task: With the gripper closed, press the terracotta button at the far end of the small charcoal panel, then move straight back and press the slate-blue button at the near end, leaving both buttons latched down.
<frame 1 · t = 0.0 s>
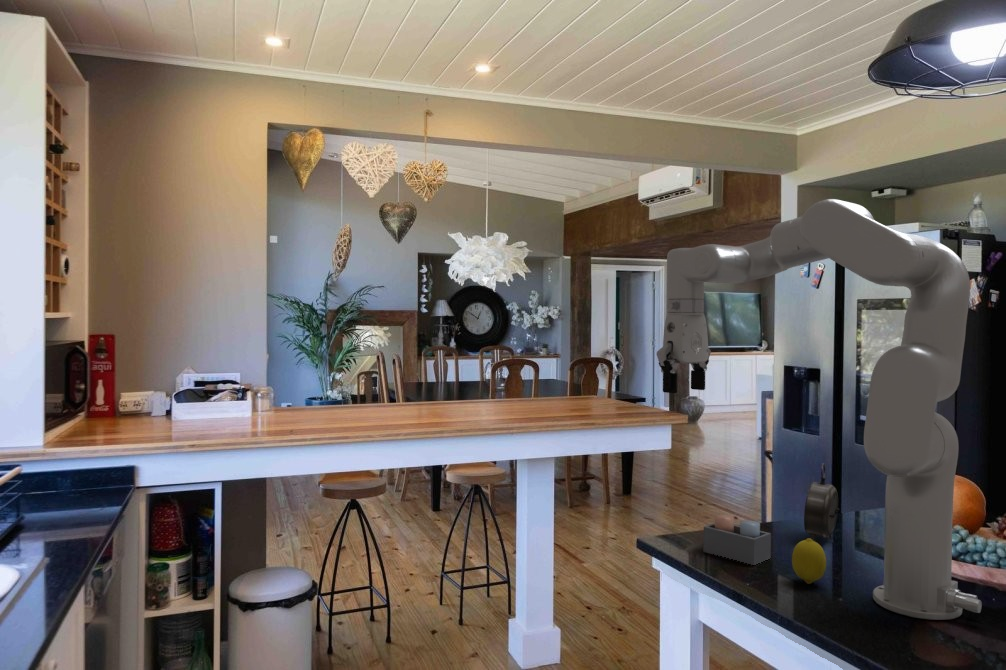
hand: (684, 391, 152), 31 cm above the counter, tool pointing down, fingers open, 9 cm apart
slate button: (749, 533, 141), point 5 cm above the counter, slide at 0.0 cm
terracotta button: (724, 526, 145), point 5 cm above the counter, slide at 0.0 cm
panel: (736, 555, 143), on the counter
lemon: (808, 584, 128), on the counter
alarm clock: (822, 541, 153), on the counter
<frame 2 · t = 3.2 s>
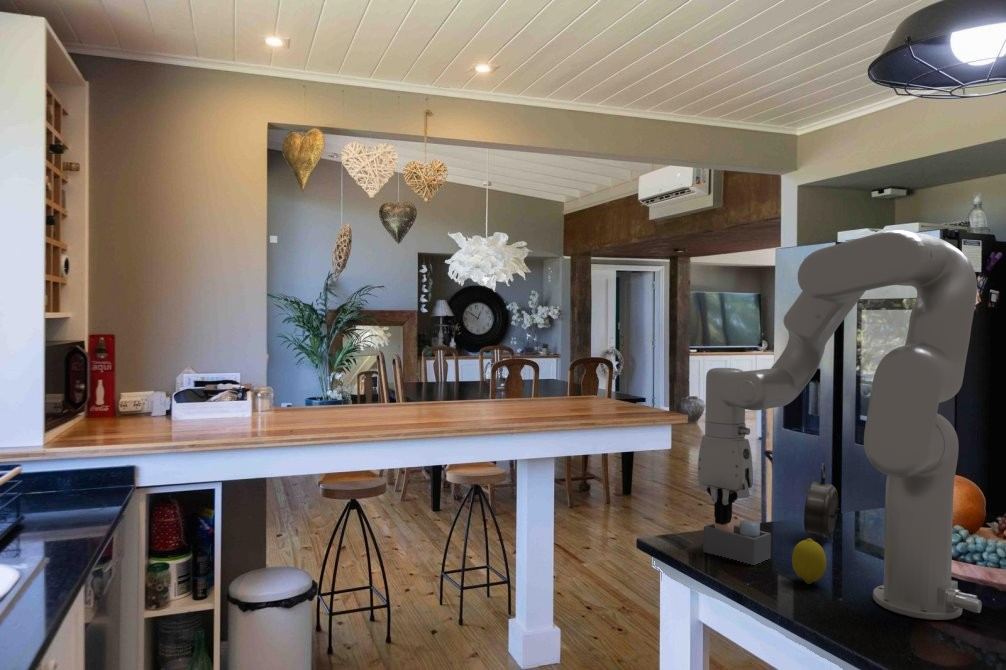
hand: (722, 522, 145), 6 cm above the counter, tool pointing down, fingers closed
terracotta button: (724, 533, 145), point 4 cm above the counter, slide at 1.2 cm, touching gripper
everything else where it was.
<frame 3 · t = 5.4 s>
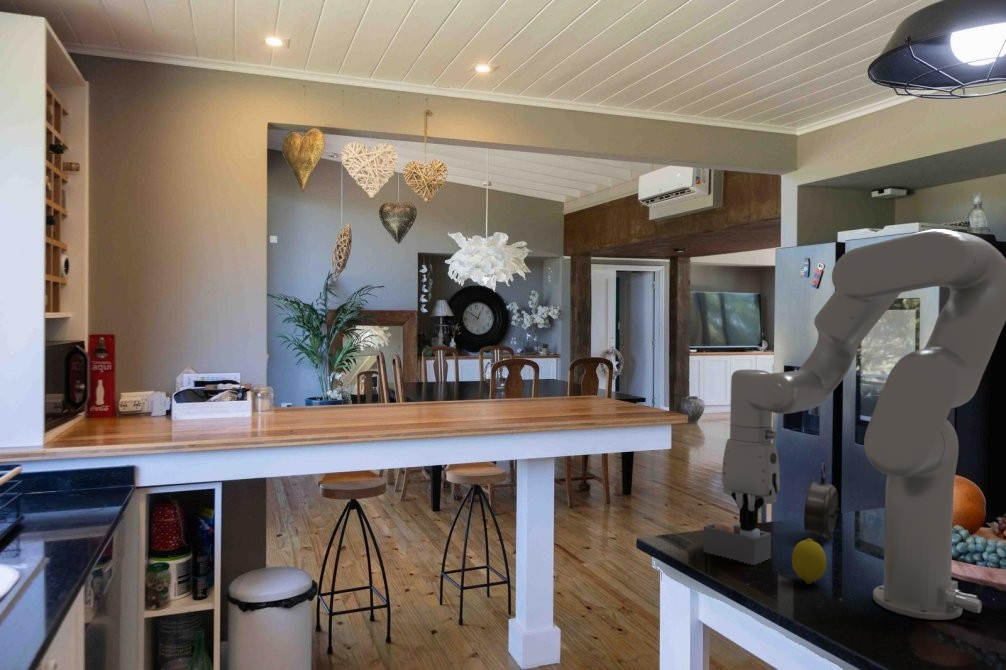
hand: (748, 528, 141), 6 cm above the counter, tool pointing down, fingers closed
slate button: (749, 539, 141), point 4 cm above the counter, slide at 1.3 cm, touching gripper
terracotta button: (724, 534, 145), point 4 cm above the counter, slide at 1.5 cm
everything else where it was.
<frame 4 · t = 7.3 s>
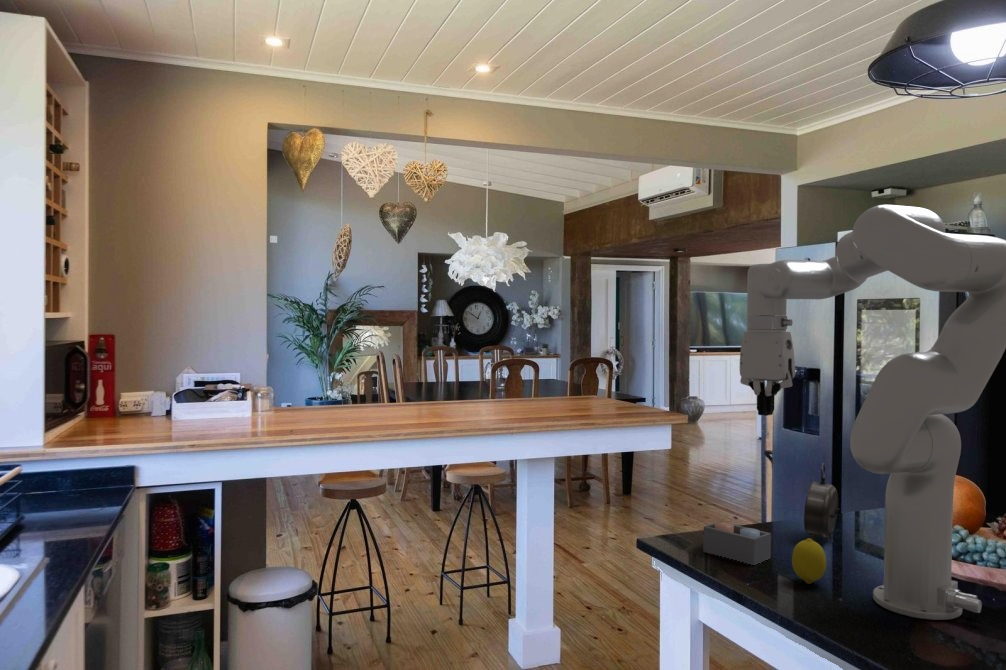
hand: (765, 414, 149), 27 cm above the counter, tool pointing down, fingers closed
slate button: (749, 540, 141), point 4 cm above the counter, slide at 1.5 cm
everything else where it was.
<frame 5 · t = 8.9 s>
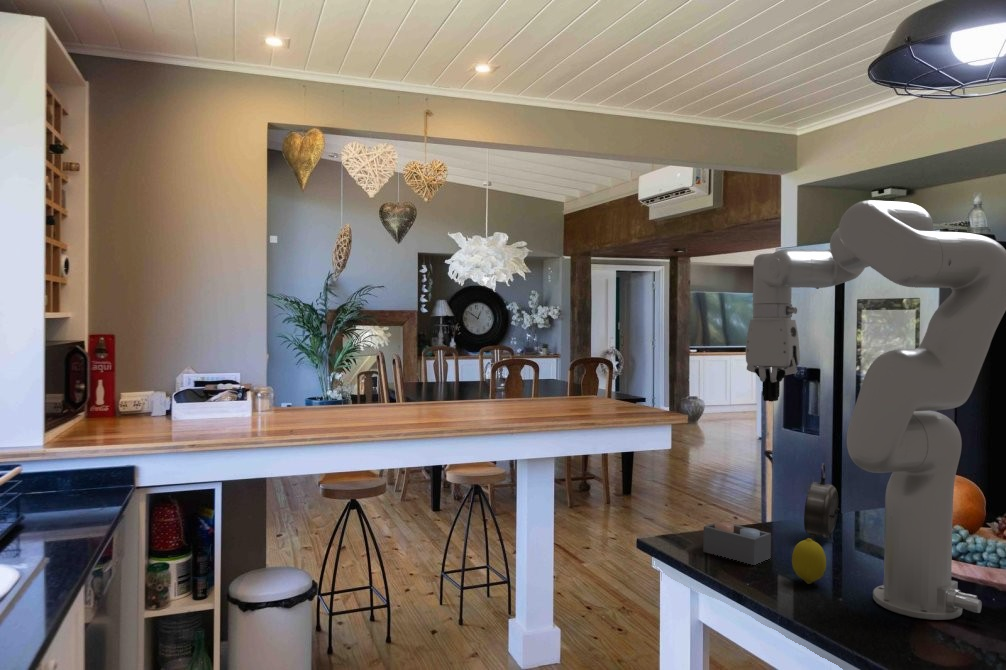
hand: (770, 400, 153), 29 cm above the counter, tool pointing down, fingers closed
nothing on the counter moved.
at the end: terracotta button slide at 1.5 cm; slate button slide at 1.5 cm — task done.
